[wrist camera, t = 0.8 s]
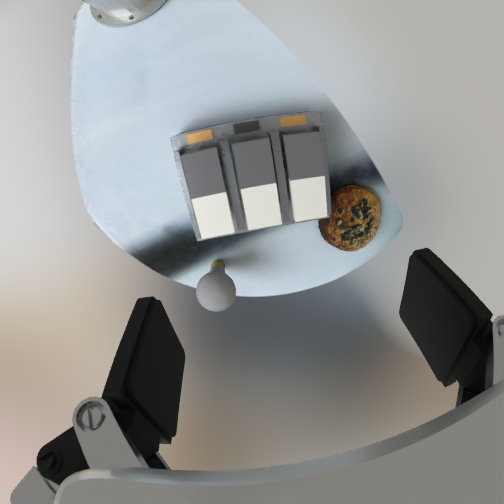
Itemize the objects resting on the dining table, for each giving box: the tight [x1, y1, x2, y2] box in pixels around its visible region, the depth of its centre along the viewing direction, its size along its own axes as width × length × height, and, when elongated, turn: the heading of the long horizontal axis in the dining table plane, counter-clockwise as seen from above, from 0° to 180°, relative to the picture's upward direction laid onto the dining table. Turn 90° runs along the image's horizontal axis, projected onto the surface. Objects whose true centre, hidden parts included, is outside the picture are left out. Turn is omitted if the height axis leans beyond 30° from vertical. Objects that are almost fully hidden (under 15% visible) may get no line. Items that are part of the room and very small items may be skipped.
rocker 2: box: [232, 137, 282, 230], centre depth 30 cm, size 10×4×1 cm, turn 10°
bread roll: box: [318, 185, 381, 252], centre depth 40 cm, size 11×11×5 cm
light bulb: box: [196, 260, 236, 311], centre depth 40 cm, size 6×6×10 cm
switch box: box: [170, 112, 331, 241], centre depth 33 cm, size 14×18×8 cm
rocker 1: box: [180, 146, 235, 239], centre depth 30 cm, size 10×4×1 cm, turn 10°
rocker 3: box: [282, 131, 327, 222], centre depth 29 cm, size 10×4×1 cm, turn 10°
